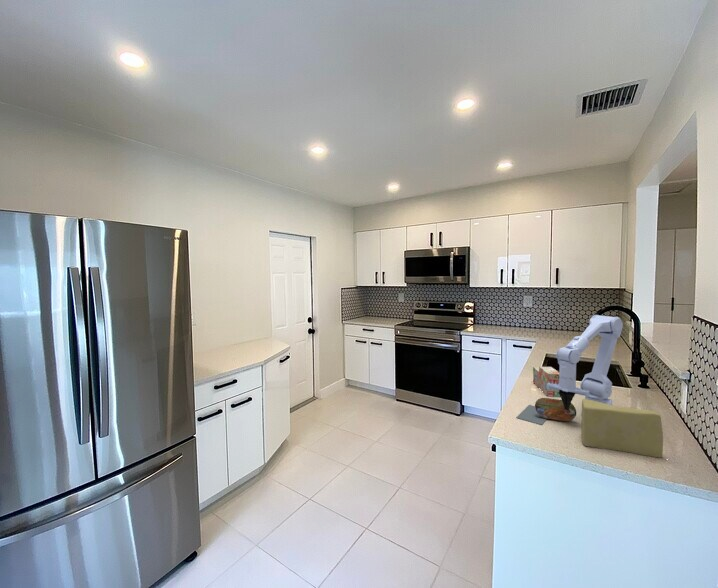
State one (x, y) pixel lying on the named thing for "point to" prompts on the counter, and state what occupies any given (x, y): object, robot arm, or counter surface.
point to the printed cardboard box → (546, 380)
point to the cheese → (621, 428)
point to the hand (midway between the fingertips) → (566, 409)
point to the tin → (554, 409)
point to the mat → (531, 415)
